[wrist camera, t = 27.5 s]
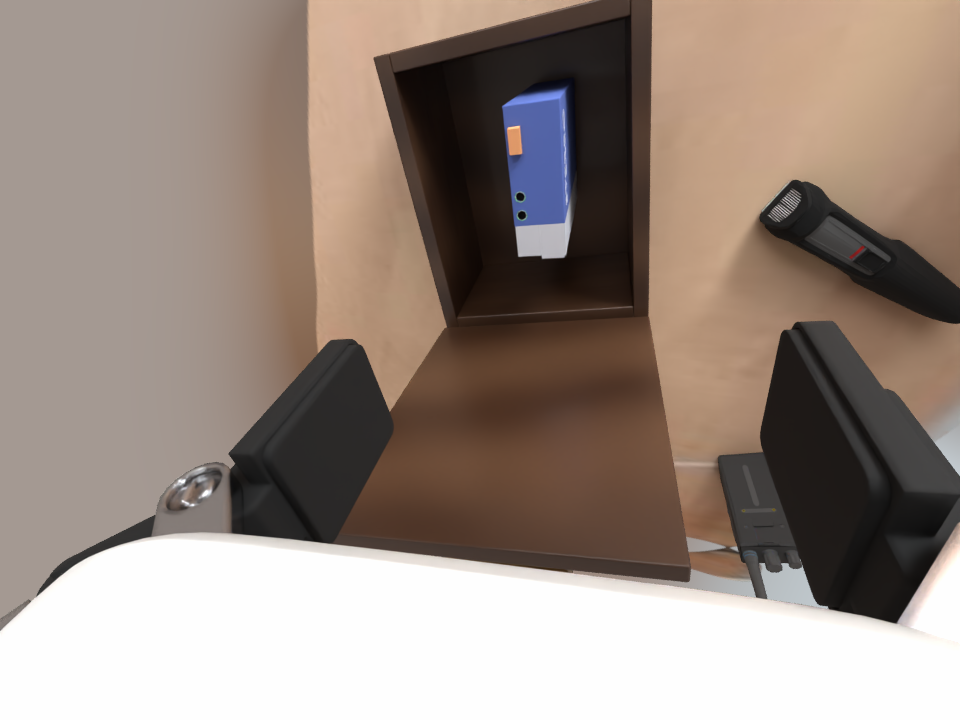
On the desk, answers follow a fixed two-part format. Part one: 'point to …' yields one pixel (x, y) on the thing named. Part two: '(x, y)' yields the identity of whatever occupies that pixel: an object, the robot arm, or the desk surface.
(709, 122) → the desk surface
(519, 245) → the walkman
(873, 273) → the electric trimmer
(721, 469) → the walkie-talkie
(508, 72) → the brown hollow rectangular box
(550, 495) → the lid
